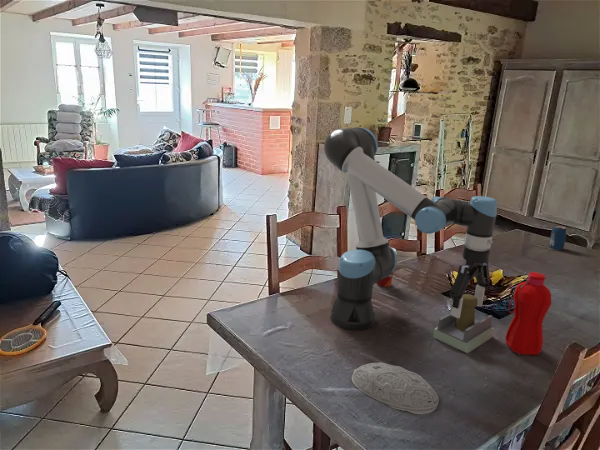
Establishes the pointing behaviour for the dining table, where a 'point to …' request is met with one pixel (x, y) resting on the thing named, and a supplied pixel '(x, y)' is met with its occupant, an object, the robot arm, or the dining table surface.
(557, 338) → the dining table surface
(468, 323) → the olive pepper shaker
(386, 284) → the coffee cup
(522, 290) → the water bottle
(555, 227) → the soda can
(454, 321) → the grey tray
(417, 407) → the embossed oval dome
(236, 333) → the dining table surface
